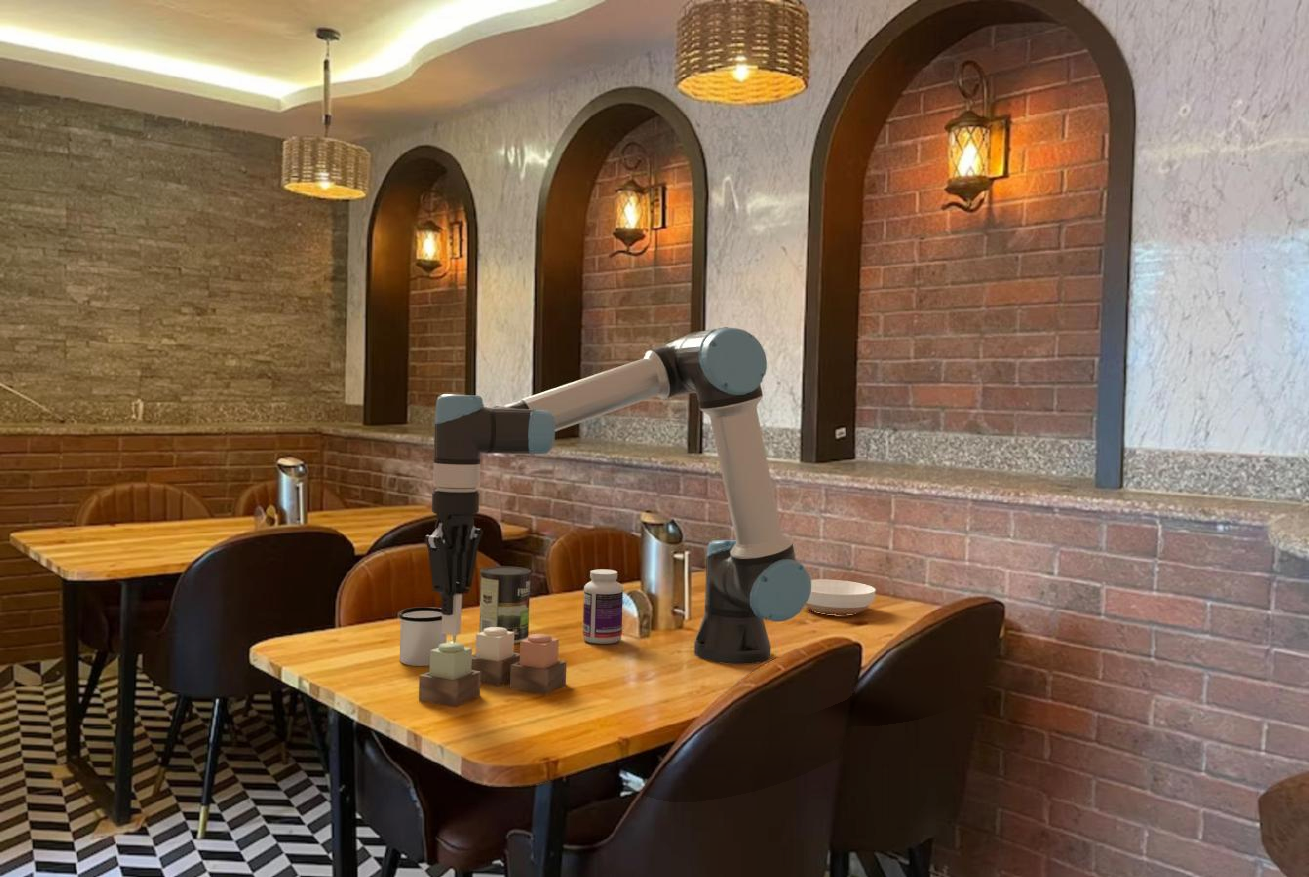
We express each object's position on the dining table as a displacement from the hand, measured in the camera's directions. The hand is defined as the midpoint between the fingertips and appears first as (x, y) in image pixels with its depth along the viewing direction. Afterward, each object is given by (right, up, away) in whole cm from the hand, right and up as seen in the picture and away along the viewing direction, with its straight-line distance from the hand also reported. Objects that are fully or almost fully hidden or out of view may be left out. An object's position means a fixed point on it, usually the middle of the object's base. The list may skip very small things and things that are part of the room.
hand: (451, 633), depth 158 cm
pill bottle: (+22, -10, +42) cm, 48 cm away
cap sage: (0, -9, 0) cm, 9 cm away
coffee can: (+2, -9, +41) cm, 42 cm away
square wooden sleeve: (+5, -10, +12) cm, 17 cm away
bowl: (+77, -11, +80) cm, 112 cm away
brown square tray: (0, -11, 0) cm, 11 cm away
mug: (-9, -10, +23) cm, 26 cm away
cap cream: (+5, -8, +12) cm, 16 cm away
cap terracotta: (+13, -9, +9) cm, 18 cm away
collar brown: (+13, -11, +9) cm, 19 cm away
